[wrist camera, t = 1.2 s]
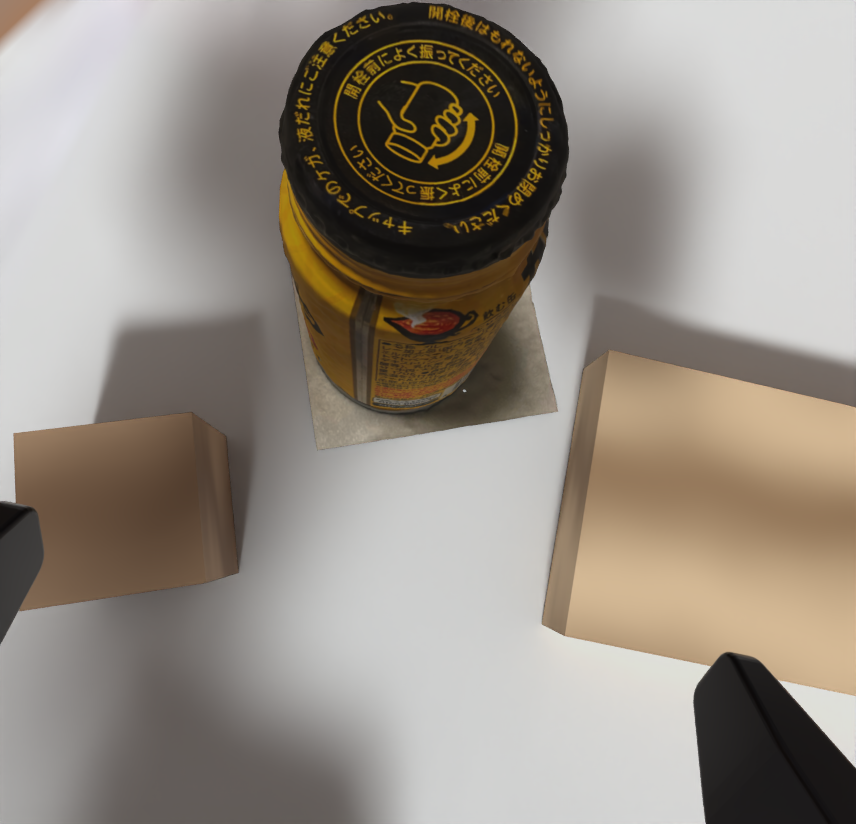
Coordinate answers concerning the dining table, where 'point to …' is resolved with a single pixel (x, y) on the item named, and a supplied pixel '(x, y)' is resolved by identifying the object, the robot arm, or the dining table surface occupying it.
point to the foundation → (709, 522)
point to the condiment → (419, 221)
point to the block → (127, 507)
